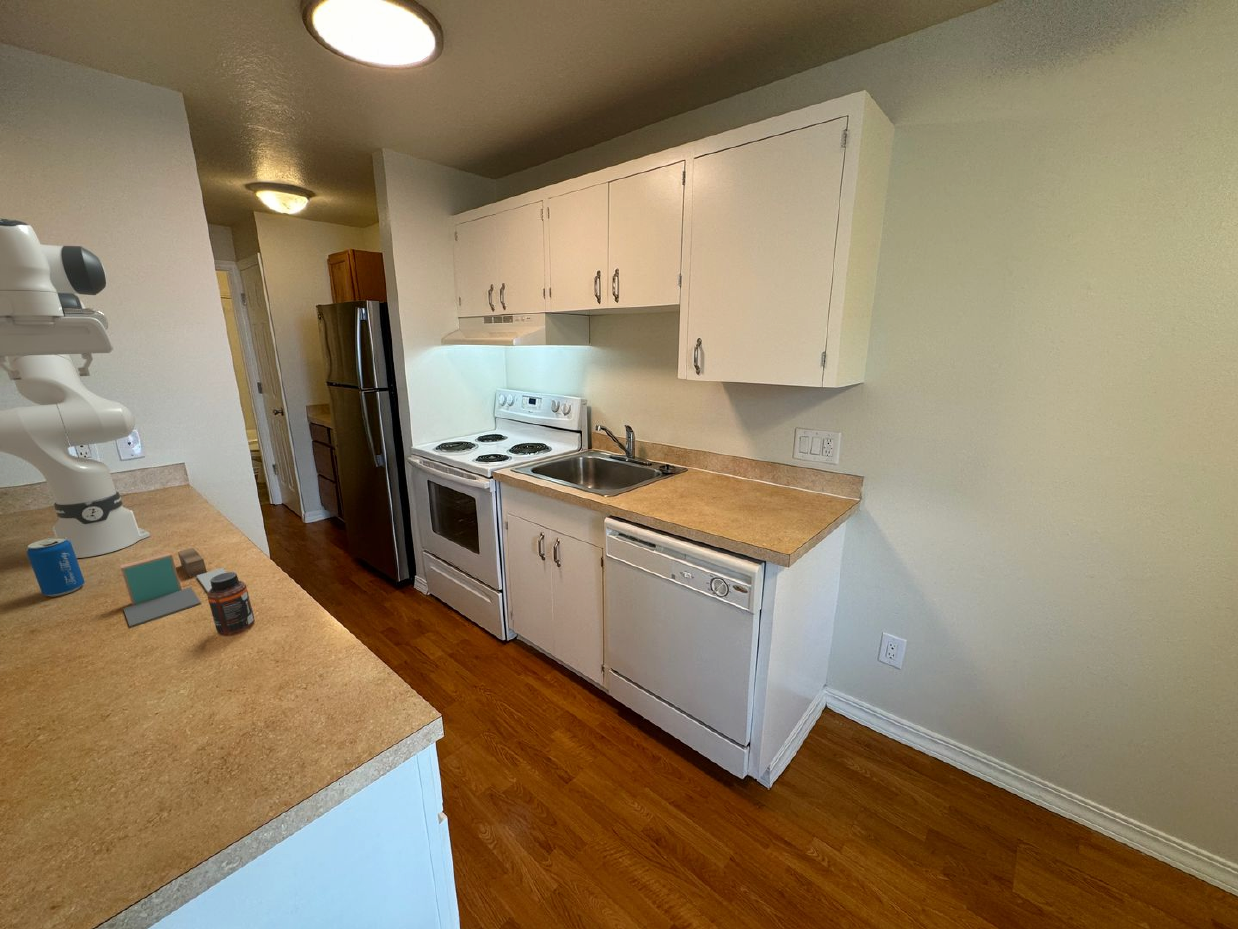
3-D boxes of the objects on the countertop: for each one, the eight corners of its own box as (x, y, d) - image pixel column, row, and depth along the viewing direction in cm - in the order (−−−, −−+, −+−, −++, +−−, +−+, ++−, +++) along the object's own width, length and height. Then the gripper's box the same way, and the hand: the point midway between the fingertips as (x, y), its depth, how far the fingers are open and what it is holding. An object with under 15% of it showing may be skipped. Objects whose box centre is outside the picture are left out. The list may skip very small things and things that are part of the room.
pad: (197, 577, 115) (196, 575, 115) (223, 570, 118) (222, 567, 118) (209, 595, 107) (208, 592, 107) (236, 586, 111) (236, 583, 111)
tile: (131, 603, 104) (119, 565, 102) (180, 588, 110) (170, 552, 108) (133, 606, 103) (121, 568, 101) (182, 591, 109) (171, 555, 107)
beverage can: (57, 599, 106) (38, 549, 103) (35, 596, 107) (16, 547, 104) (93, 584, 112) (77, 537, 109) (72, 582, 113) (55, 535, 110)
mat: (123, 609, 102) (122, 608, 102) (191, 588, 110) (190, 587, 110) (130, 627, 96) (129, 626, 96) (201, 604, 104) (200, 602, 104)
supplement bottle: (262, 622, 97) (250, 571, 94) (231, 640, 92) (217, 587, 89) (242, 617, 99) (229, 567, 96) (210, 634, 94) (195, 581, 90)
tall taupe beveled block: (181, 566, 121) (177, 552, 120) (197, 562, 123) (193, 547, 122) (191, 579, 115) (187, 563, 114) (207, 574, 117) (203, 559, 116)
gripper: (102, 308, 106) (120, 373, 109) (-55, 306, 90) (-27, 381, 94) (105, 308, 102) (124, 374, 105) (-58, 305, 87) (-29, 383, 90)
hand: (51, 377), depth 100 cm, fingers open, 8 cm apart
